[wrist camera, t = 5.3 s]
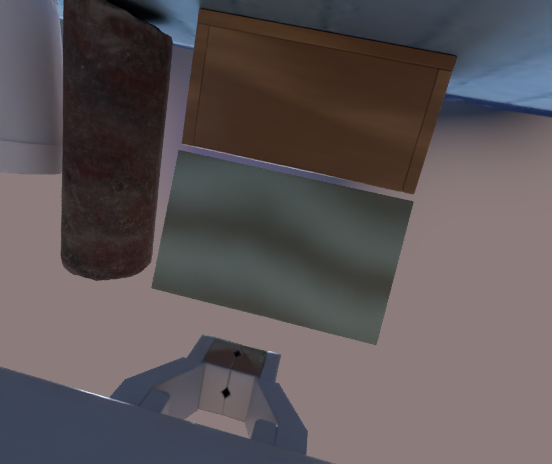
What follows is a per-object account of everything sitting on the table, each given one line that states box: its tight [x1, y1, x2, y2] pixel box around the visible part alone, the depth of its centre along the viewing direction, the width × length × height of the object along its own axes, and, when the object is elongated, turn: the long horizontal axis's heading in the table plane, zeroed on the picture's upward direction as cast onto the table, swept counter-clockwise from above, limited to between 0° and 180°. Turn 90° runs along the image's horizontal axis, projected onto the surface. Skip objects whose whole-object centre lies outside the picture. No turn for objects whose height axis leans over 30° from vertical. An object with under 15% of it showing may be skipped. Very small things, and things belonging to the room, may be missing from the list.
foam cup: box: [0, 0, 63, 174], centre depth 28 cm, size 10×9×13 cm
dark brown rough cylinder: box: [61, 0, 173, 281], centre depth 28 cm, size 8×7×20 cm
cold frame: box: [182, 9, 457, 194], centre depth 26 cm, size 9×16×8 cm, turn 98°
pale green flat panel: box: [152, 150, 413, 345], centre depth 23 cm, size 10×16×1 cm
